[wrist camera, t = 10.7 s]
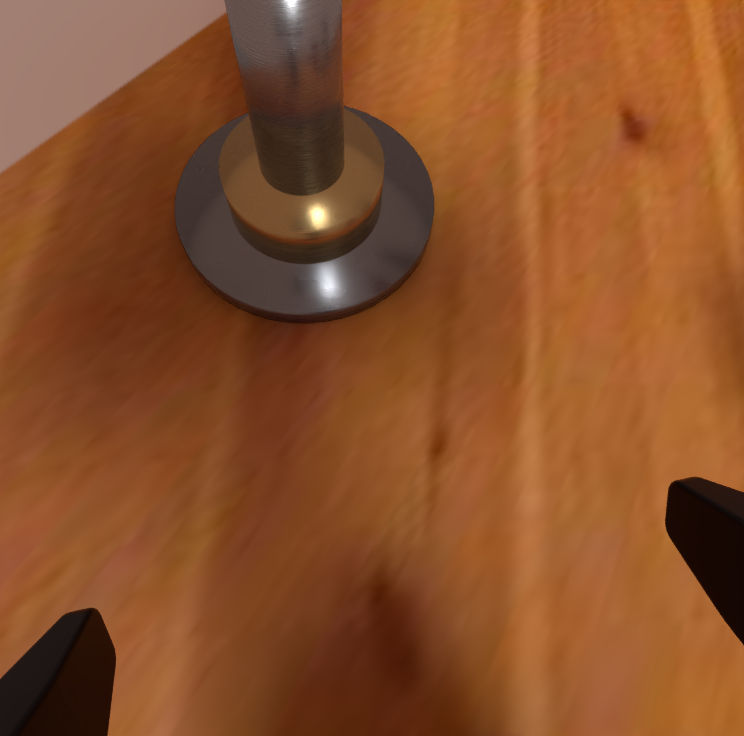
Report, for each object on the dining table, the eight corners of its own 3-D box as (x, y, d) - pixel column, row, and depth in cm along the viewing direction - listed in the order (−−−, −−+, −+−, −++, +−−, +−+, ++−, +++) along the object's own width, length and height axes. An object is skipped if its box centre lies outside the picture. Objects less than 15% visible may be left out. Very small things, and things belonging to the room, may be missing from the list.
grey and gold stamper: (402, 166, 28) (435, -127, 17) (349, 284, 25) (347, 31, 14) (268, 124, 28) (214, -183, 17) (204, 235, 26) (92, -43, 15)
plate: (482, 210, 28) (486, 197, 27) (305, 375, 25) (303, 366, 24) (308, 81, 31) (307, 65, 30) (128, 212, 27) (120, 198, 26)
